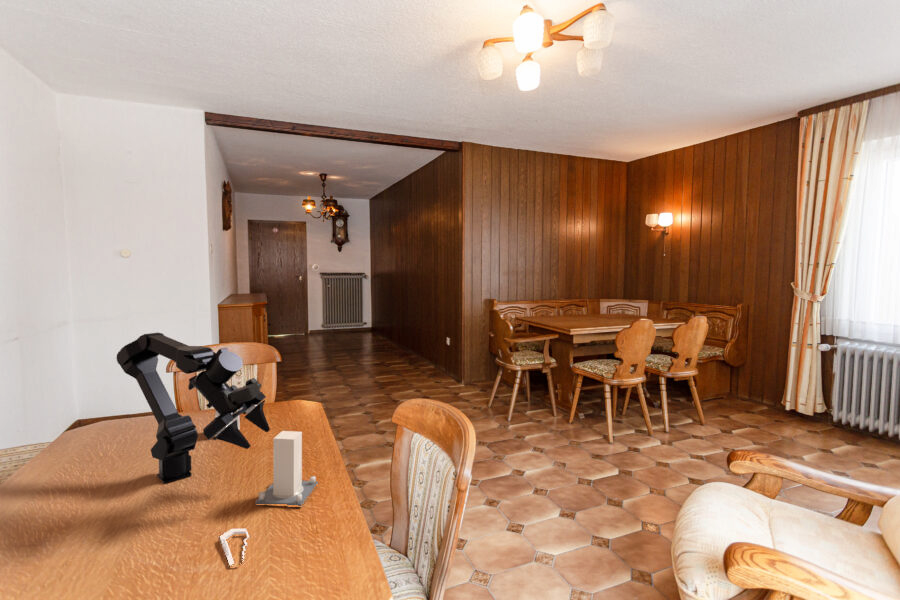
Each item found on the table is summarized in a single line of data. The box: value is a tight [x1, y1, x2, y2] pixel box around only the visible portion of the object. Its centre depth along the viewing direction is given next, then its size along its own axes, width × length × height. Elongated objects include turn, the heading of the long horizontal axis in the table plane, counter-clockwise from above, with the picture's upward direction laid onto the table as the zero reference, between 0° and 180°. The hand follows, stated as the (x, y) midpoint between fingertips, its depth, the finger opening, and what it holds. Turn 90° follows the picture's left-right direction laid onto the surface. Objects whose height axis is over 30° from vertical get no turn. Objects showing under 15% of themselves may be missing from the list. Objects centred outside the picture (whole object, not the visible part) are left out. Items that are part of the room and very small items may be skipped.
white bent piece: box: [219, 528, 250, 566], centre depth 89 cm, size 13×5×2 cm, turn 37°
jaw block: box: [272, 430, 303, 496], centre depth 109 cm, size 5×5×14 cm
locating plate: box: [255, 475, 319, 506], centre depth 110 cm, size 11×11×2 cm
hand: (259, 439), depth 110 cm, fingers open, 9 cm apart
